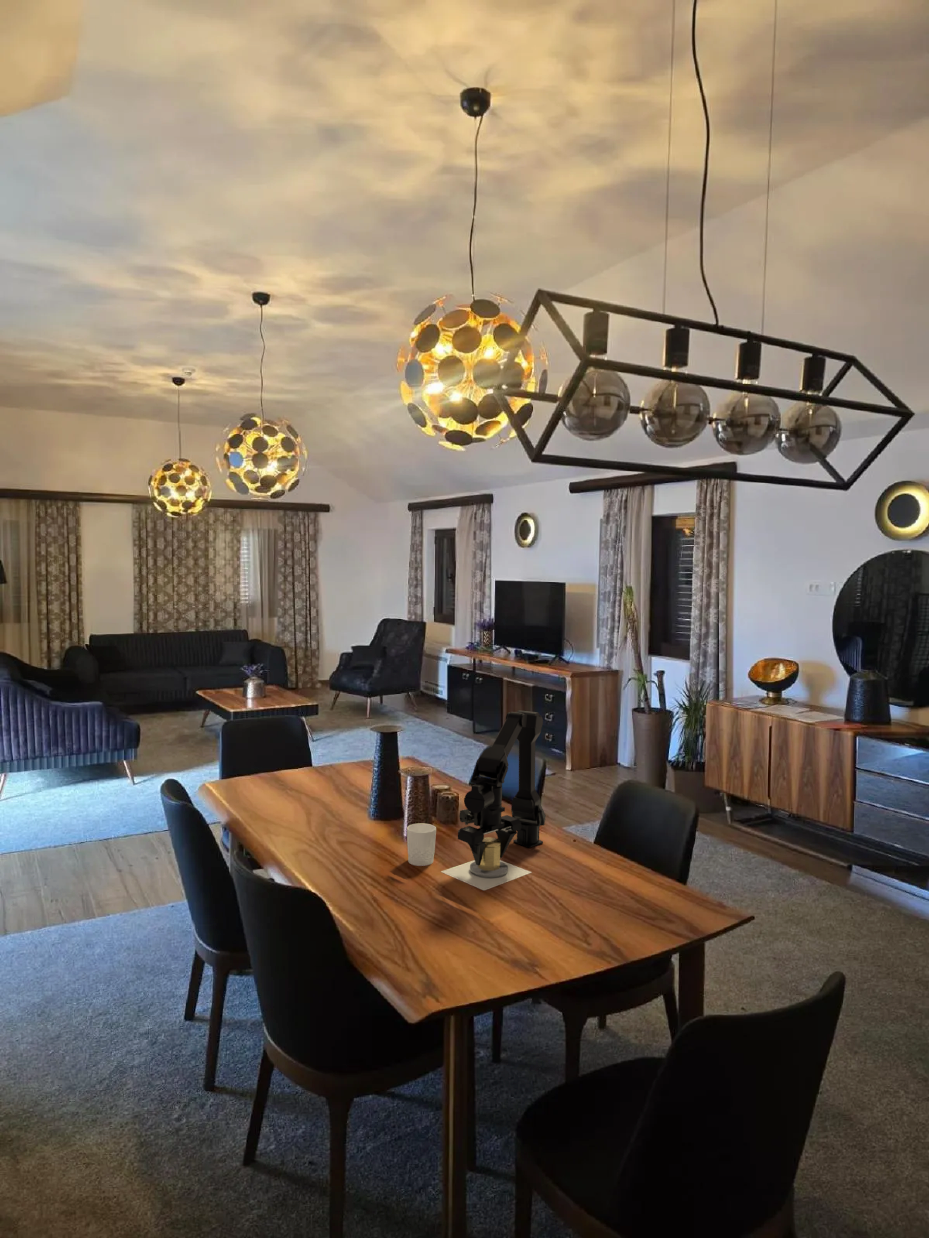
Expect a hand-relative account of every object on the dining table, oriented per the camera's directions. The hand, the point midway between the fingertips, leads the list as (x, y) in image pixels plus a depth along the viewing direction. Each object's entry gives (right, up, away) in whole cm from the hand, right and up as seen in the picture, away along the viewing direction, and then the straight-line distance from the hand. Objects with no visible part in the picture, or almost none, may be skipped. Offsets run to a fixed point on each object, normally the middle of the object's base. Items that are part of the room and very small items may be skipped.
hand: (489, 861), depth 206 cm
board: (-1, -4, -1) cm, 4 cm away
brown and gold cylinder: (0, -1, 0) cm, 2 cm away
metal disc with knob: (0, -3, 0) cm, 3 cm away
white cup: (-18, -3, +6) cm, 20 cm away
